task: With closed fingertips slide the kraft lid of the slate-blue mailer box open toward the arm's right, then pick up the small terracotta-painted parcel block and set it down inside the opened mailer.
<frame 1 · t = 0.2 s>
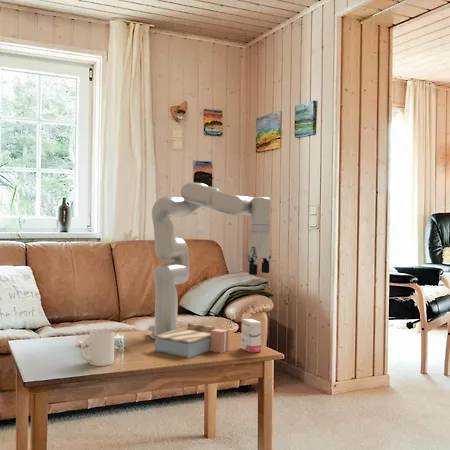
hand: (259, 273, 225), 31 cm above the table, fingers open, 9 cm apart
mug: (96, 364, 203), on the table
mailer: (187, 349, 228), on the table
ink box: (250, 350, 230), on the table
parcel: (219, 350, 227), on the table
teacup and saucer: (88, 345, 233), on the table
lid: (187, 332, 228), point 7 cm above the table, slide at 0.0 cm
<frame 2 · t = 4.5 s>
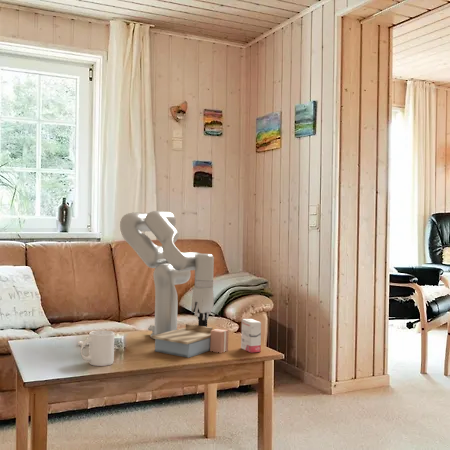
hand: (202, 329, 237), 6 cm above the table, fingers closed
lid: (185, 333, 226), point 7 cm above the table, slide at 1.5 cm, touching gripper
everything else where it was.
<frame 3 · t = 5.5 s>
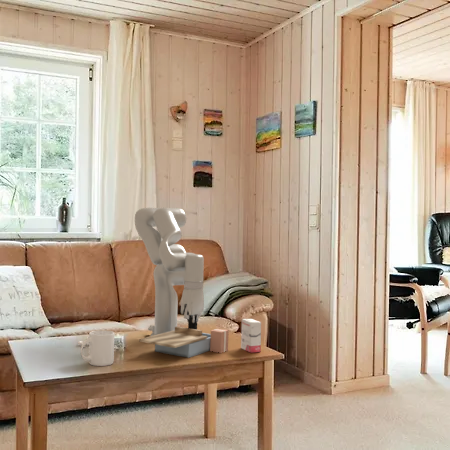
hand: (192, 332, 230), 6 cm above the table, fingers closed
lid: (173, 336, 220), point 7 cm above the table, slide at 8.8 cm, touching gripper
everything else where it was.
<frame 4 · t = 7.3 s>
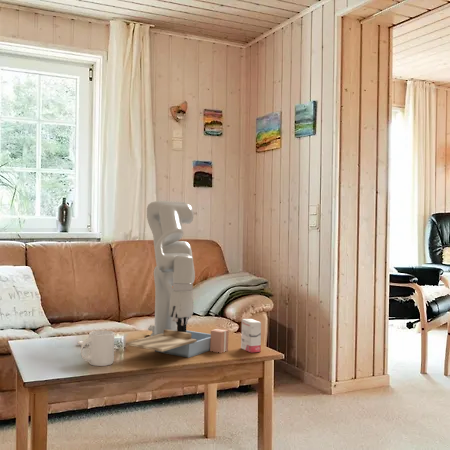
hand: (181, 335, 224), 6 cm above the table, fingers closed
lid: (162, 339, 214), point 7 cm above the table, slide at 15.9 cm, touching gripper
everything else where it was.
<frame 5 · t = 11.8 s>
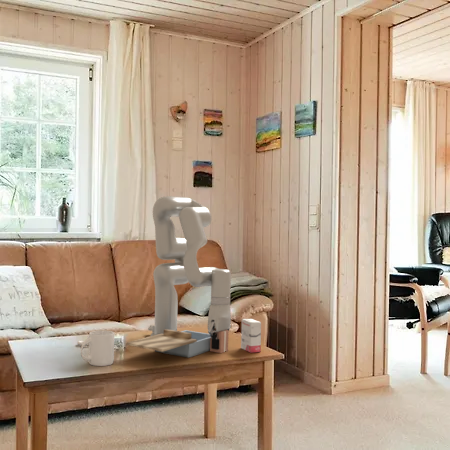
hand: (219, 347, 227), 1 cm above the table, fingers closed on parcel, 5 cm apart
parcel: (219, 350, 227), on the table, touching gripper
lid: (162, 339, 214), point 7 cm above the table, slide at 15.9 cm
everything else where it was.
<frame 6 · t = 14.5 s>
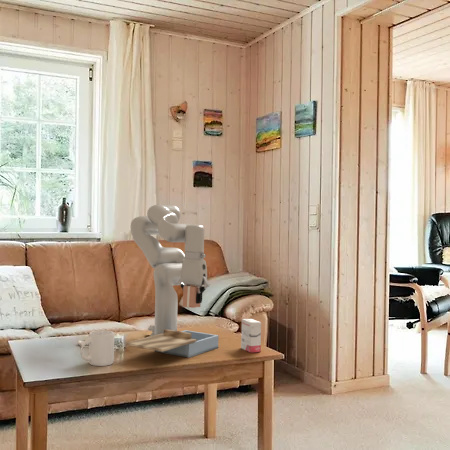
hand: (192, 301, 230), 18 cm above the table, fingers closed on parcel, 5 cm apart
parcel: (191, 306, 229), point 17 cm above the table, touching gripper
everything else where it was.
when the fingers open (4 cm above the table, at t = 17.4 s): parcel stays where it is, resting on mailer.
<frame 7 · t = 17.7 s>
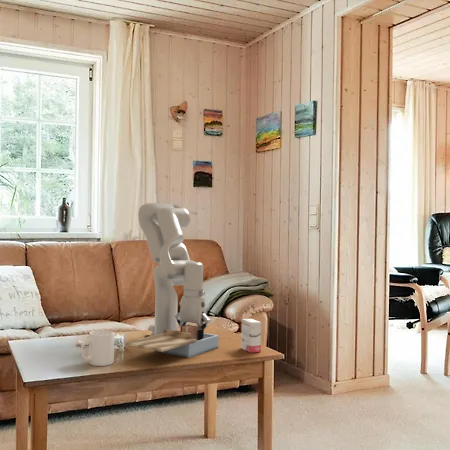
hand: (191, 337, 230), 4 cm above the table, fingers open, 7 cm apart
parcel: (190, 346, 230), point 1 cm above the table, touching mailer
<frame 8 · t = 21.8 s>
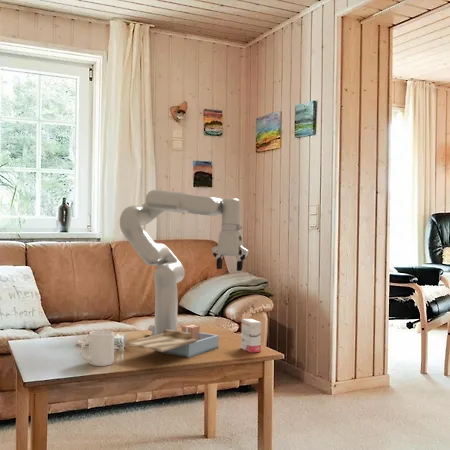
hand: (229, 269, 241), 30 cm above the table, fingers open, 9 cm apart
at the end: lid slide at 15.9 cm; parcel inside the target area on the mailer (2.2 cm from its centre), point 0.8 cm above the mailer's base; parcel tilted 0° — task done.
